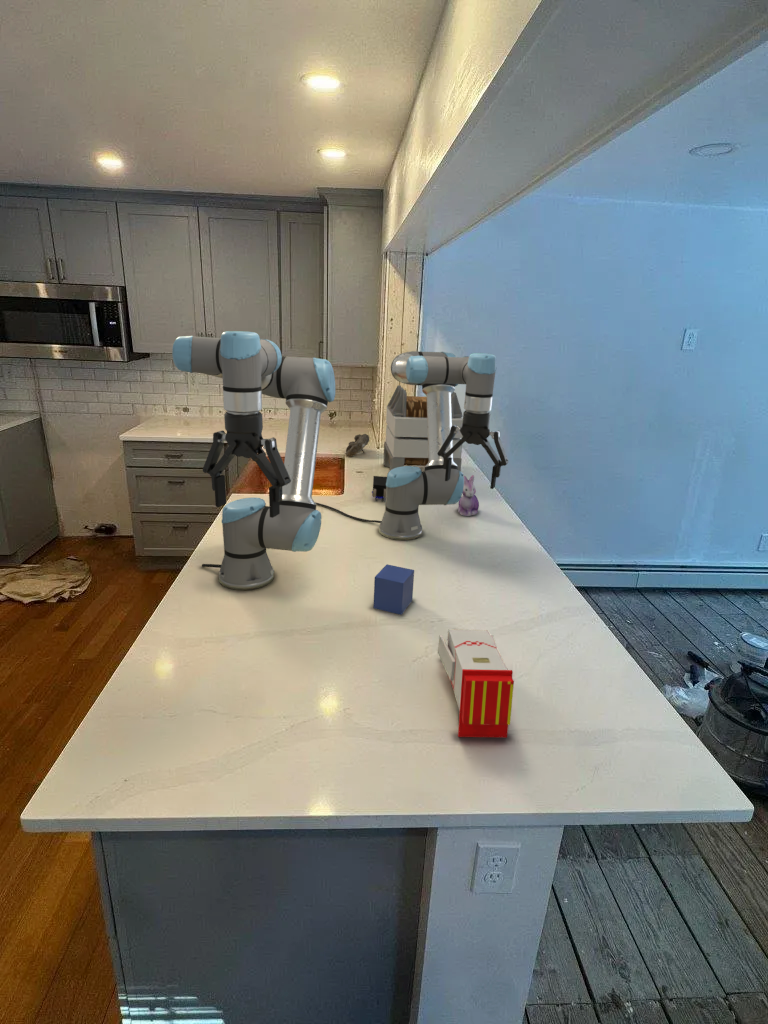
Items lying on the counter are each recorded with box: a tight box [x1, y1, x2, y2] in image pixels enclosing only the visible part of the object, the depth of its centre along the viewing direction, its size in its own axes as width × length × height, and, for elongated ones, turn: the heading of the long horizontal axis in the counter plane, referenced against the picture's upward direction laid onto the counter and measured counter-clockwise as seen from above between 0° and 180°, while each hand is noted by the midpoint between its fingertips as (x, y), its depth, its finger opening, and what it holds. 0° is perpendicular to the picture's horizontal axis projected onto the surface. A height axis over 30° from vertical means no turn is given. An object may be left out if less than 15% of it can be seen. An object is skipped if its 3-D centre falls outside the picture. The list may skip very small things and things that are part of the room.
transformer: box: [383, 384, 463, 472], centre depth 268 cm, size 34×33×41 cm
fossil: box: [345, 433, 370, 458], centre depth 306 cm, size 22×10×15 cm
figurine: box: [457, 474, 480, 517], centre depth 221 cm, size 9×10×15 cm
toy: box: [437, 628, 515, 738], centre depth 117 cm, size 12×13×30 cm
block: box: [372, 563, 415, 616], centre depth 151 cm, size 9×8×9 cm
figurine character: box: [371, 475, 387, 502], centre depth 236 cm, size 7×8×15 cm
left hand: (247, 510), depth 122 cm, fingers open, 13 cm apart
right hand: (469, 483), depth 165 cm, fingers open, 13 cm apart
